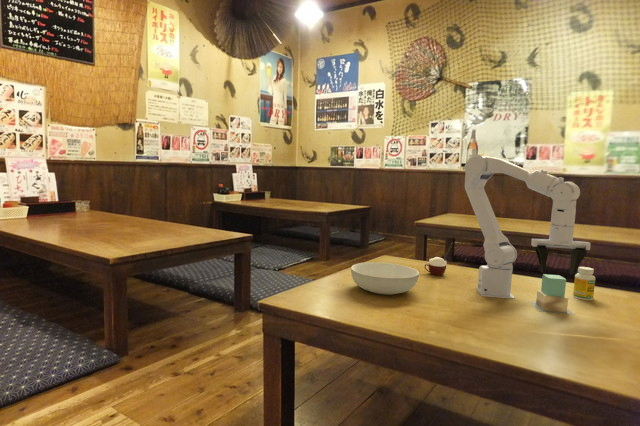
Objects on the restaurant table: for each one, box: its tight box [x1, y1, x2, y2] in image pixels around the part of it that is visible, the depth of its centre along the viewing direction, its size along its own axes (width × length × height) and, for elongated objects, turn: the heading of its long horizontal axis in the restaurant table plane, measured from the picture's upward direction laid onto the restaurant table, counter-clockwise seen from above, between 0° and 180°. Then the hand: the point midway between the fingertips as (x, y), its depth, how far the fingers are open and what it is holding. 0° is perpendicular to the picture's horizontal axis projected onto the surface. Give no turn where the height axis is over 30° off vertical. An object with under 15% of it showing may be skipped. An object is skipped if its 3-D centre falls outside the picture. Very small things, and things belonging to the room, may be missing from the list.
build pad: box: [528, 300, 576, 316], centre depth 118 cm, size 9×9×1 cm
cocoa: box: [423, 242, 454, 276], centre depth 152 cm, size 10×6×12 cm, turn 58°
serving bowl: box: [350, 261, 420, 296], centre depth 130 cm, size 21×21×7 cm
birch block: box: [535, 289, 569, 312], centre depth 118 cm, size 6×6×4 cm
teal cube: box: [540, 273, 567, 297], centre depth 117 cm, size 4×4×5 cm
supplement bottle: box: [572, 266, 596, 301], centre depth 129 cm, size 5×5×10 cm
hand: (557, 273), depth 117 cm, fingers open, 7 cm apart
